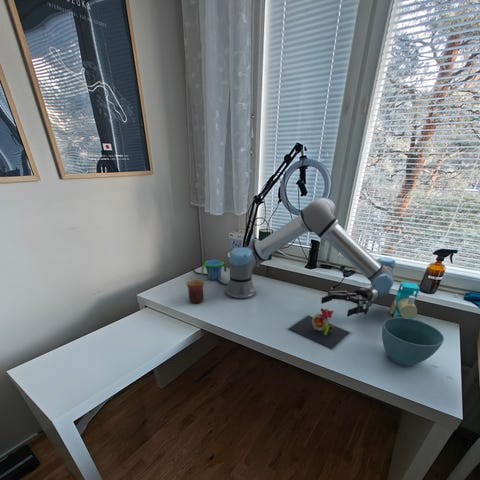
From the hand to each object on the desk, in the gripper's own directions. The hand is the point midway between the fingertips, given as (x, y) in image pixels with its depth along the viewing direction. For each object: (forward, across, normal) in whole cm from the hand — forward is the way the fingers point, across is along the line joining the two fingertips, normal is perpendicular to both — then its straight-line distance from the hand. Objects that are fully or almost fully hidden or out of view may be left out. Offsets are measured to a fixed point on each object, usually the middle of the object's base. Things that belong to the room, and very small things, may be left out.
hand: (334, 306), depth 112 cm
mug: (+38, +55, -10) cm, 67 cm away
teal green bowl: (-4, -29, -10) cm, 31 cm away
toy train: (-32, -14, -10) cm, 36 cm away
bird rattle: (+8, -1, -9) cm, 12 cm away
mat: (+8, 0, -10) cm, 12 cm away
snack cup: (+16, +76, -10) cm, 78 cm away
